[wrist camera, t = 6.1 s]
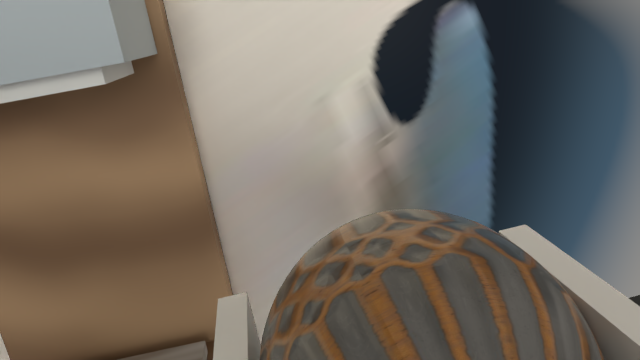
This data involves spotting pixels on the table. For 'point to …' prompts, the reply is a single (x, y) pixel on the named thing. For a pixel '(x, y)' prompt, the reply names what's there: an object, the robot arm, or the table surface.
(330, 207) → the table surface
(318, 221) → the table surface
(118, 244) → the vise base
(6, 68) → the jaw
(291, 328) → the vase
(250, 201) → the table surface
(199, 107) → the table surface
